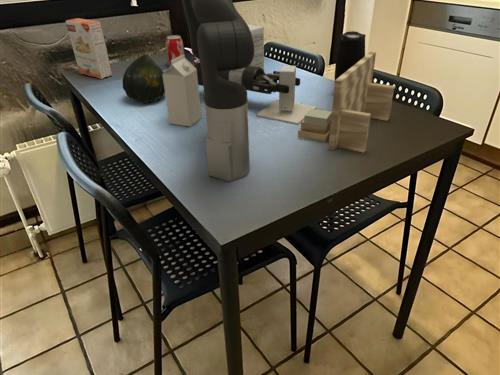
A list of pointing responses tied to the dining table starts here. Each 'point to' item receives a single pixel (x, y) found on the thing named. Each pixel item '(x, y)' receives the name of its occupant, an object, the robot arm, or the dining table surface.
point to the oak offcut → (315, 128)
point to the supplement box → (258, 45)
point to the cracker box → (89, 47)
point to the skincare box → (289, 79)
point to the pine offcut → (314, 136)
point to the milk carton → (182, 92)
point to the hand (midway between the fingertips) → (294, 85)
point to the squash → (144, 80)
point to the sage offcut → (318, 117)
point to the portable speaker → (349, 51)
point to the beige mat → (285, 112)
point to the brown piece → (358, 105)
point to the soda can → (174, 47)
